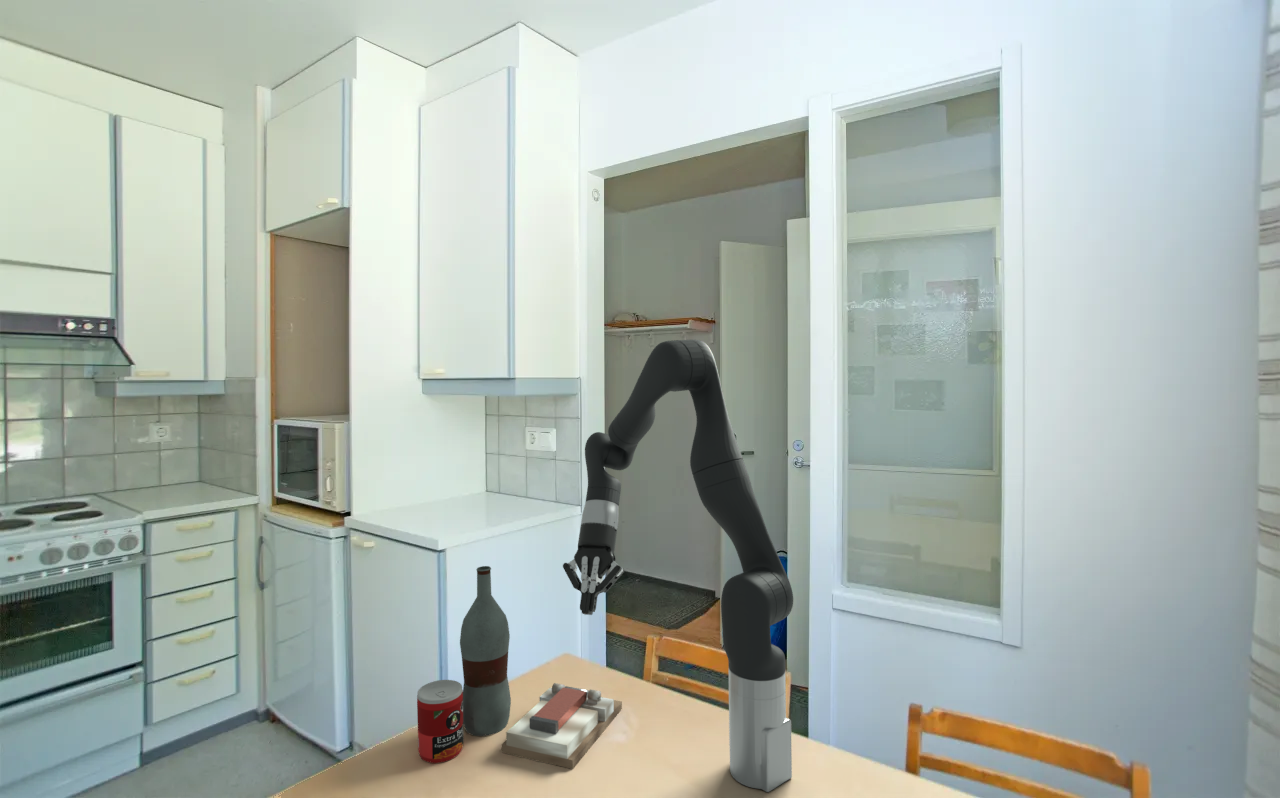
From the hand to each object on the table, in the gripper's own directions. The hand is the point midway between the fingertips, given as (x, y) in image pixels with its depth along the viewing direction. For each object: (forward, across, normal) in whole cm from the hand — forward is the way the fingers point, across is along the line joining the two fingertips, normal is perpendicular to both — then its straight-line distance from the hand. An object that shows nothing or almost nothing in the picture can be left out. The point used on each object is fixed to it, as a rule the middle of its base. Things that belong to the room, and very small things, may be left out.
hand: (587, 614), depth 121 cm
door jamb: (+20, -3, +5) cm, 21 cm away
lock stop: (+14, -3, +6) cm, 15 cm away
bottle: (+21, -18, +2) cm, 28 cm away
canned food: (+26, -21, -7) cm, 34 cm away
